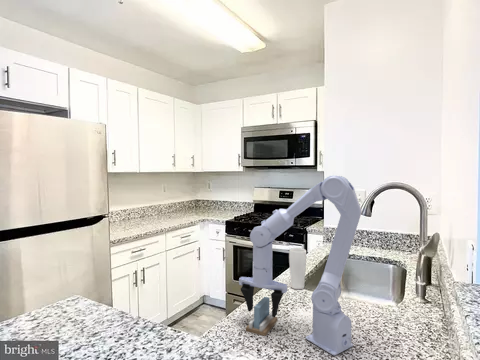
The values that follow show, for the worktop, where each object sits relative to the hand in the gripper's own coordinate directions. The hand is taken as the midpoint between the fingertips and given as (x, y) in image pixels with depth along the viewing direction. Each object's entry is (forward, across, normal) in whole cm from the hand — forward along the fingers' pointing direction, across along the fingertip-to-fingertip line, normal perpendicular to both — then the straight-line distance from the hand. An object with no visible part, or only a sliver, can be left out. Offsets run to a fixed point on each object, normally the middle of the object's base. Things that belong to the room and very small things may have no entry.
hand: (262, 312), depth 85 cm
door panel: (+3, 0, 0) cm, 3 cm away
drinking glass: (+4, -1, -35) cm, 35 cm away
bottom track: (+4, 0, 0) cm, 4 cm away
